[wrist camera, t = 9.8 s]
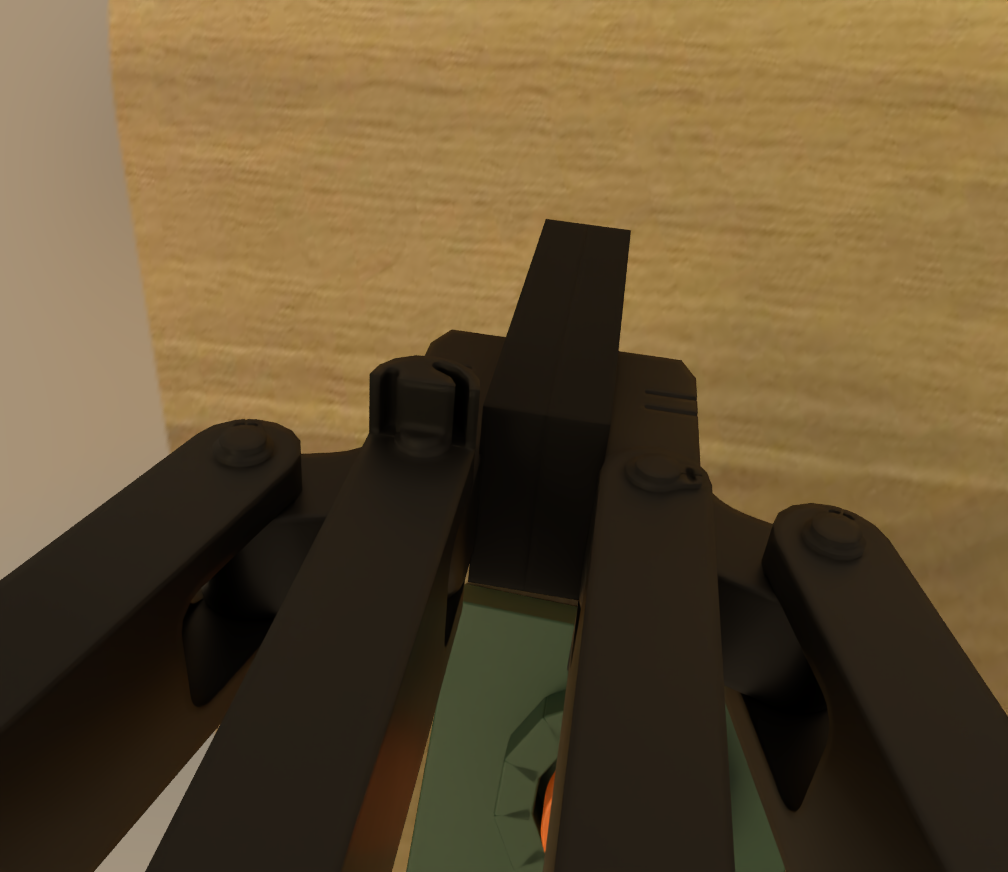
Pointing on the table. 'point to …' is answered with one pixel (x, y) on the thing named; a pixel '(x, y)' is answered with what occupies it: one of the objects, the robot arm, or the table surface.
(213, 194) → the table surface
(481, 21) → the table surface
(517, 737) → the button block
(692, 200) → the table surface
